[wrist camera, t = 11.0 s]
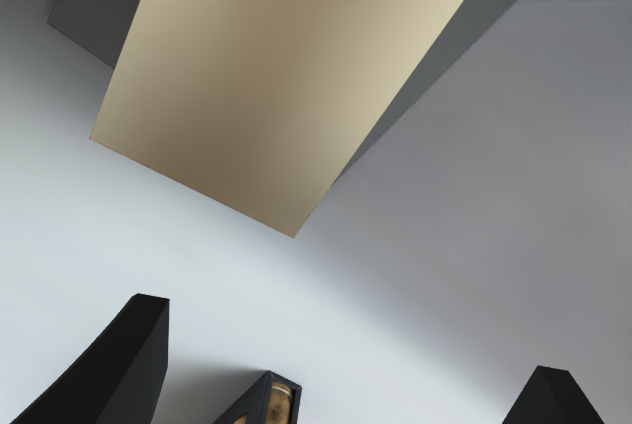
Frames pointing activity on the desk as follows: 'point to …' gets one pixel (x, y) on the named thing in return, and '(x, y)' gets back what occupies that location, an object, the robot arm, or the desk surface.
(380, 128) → the rubber mat
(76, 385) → the robot arm
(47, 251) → the desk surface
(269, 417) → the ammunition clip
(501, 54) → the desk surface
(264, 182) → the maple block
